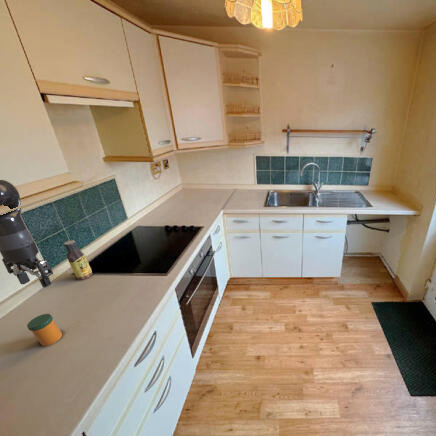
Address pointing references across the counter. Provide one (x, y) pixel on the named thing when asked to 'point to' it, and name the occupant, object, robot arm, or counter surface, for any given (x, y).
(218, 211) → the counter surface
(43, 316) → the lid
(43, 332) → the honey jar
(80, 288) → the counter surface
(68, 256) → the sauce bottle
